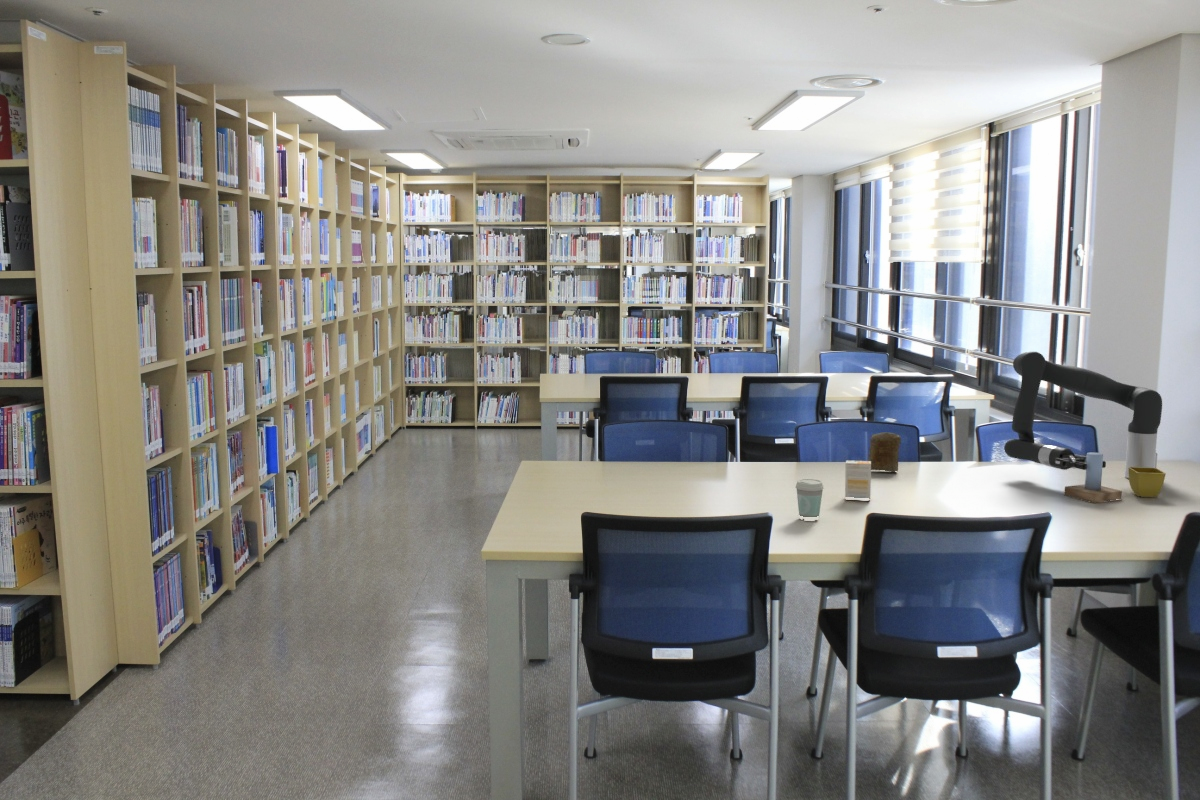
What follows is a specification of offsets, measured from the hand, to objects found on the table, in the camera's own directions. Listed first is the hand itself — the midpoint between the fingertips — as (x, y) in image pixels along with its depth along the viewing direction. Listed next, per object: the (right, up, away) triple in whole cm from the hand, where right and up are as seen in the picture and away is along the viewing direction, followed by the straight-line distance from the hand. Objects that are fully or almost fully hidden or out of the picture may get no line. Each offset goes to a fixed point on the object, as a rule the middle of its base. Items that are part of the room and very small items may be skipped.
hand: (1095, 465), depth 304 cm
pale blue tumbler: (0, -8, +1) cm, 8 cm away
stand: (0, -11, +2) cm, 11 cm away
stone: (-57, -6, +45) cm, 73 cm away
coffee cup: (-101, -15, -22) cm, 105 cm away
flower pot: (+19, -11, +3) cm, 22 cm away
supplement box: (-79, -12, +2) cm, 80 cm away
